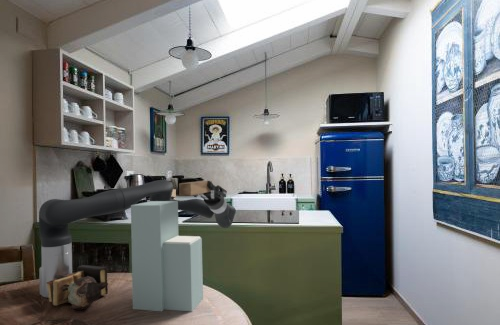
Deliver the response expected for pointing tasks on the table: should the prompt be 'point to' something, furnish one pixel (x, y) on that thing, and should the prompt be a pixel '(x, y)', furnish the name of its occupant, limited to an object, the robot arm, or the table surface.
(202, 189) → the walnut bar
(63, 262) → the robot arm
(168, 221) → the stand
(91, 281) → the bookend
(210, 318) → the table surface
